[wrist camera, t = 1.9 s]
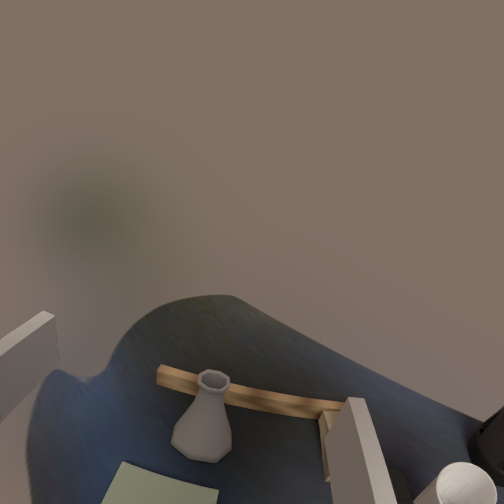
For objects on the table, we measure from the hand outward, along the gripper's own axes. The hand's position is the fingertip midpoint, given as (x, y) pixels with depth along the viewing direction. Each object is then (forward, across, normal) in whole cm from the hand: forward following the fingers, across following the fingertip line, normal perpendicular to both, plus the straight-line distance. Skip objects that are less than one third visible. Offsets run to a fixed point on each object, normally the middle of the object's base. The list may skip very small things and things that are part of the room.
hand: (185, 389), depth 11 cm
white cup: (0, +24, -20) cm, 32 cm away
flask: (+13, 0, -20) cm, 24 cm away
